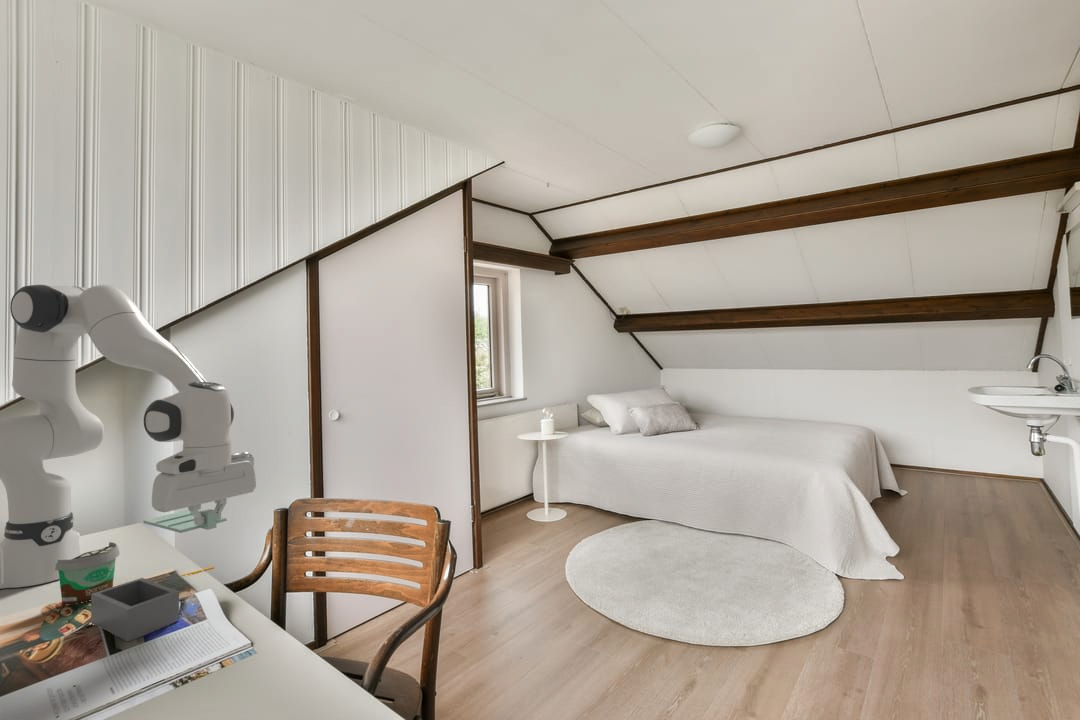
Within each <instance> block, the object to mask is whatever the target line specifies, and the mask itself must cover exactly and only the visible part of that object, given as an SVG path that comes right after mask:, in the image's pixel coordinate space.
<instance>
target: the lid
mask: <svg viewBox="0 0 1080 720" xmlns="http://www.w3.org/2000/svg"><path fill="white" fill-rule="evenodd" d="M198 511H199V512H200V514H201V515H204V516H206V524H203V525H199V526H197V525H195V524H194V516H193V515H192V514H191V512H190V511H189V510H188V509H186V510H183V511H178V512H174V513H168V514H165V515H160V516H156V517H153V518H148V519H143V524H146V525H150V526H153V527H158V528H160V529H164V530H169V531H172V532H175V533H180V534H183V533H186V532H189V531H193V530H197V529H203V530H206V531H209V530H212V529H216V528H217V524H220V523H224V522H226V521H227V517H222V516H221V520H218V521H216V510H214V509H210V508H206V509H200V510H198Z"/></svg>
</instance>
